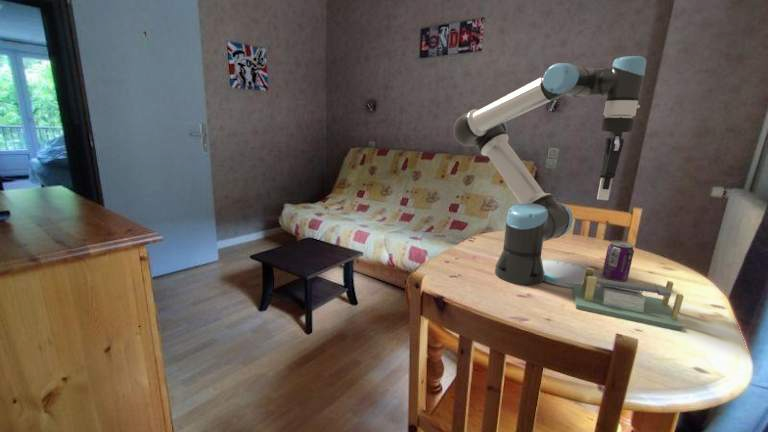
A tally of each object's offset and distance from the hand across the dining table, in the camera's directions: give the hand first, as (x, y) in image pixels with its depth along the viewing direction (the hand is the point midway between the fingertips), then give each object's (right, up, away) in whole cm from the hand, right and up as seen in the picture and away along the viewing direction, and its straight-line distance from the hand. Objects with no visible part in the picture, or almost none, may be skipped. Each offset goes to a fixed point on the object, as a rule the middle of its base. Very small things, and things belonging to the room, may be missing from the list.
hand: (602, 199), depth 102 cm
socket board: (+1, -30, -6) cm, 31 cm away
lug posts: (+2, -29, -7) cm, 30 cm away
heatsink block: (+1, -29, -6) cm, 30 cm away
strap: (+1, -25, -8) cm, 26 cm away
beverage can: (+11, -26, +12) cm, 30 cm away
